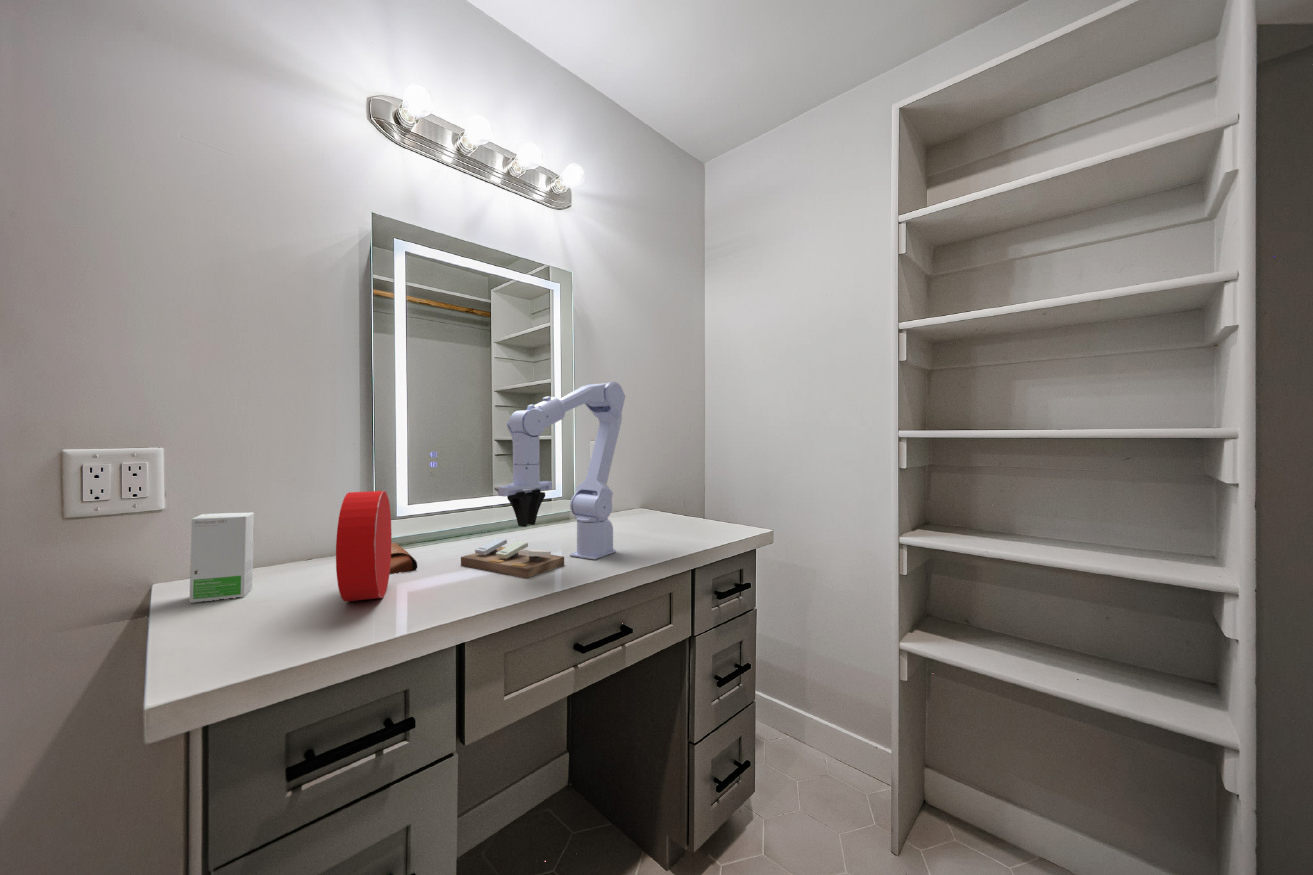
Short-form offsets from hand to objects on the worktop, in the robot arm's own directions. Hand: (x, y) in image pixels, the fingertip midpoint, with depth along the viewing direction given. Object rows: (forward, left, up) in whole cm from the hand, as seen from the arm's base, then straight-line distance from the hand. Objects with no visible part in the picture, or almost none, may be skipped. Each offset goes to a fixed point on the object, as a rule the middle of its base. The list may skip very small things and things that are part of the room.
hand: (526, 525), depth 112 cm
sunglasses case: (+11, -33, -11) cm, 36 cm away
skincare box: (+40, -39, -11) cm, 57 cm away
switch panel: (-3, -7, -10) cm, 13 cm away
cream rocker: (-3, 0, -7) cm, 7 cm away
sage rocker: (-3, -7, -7) cm, 10 cm away
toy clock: (+27, -14, -11) cm, 33 cm away
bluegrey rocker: (-3, -14, -7) cm, 16 cm away
